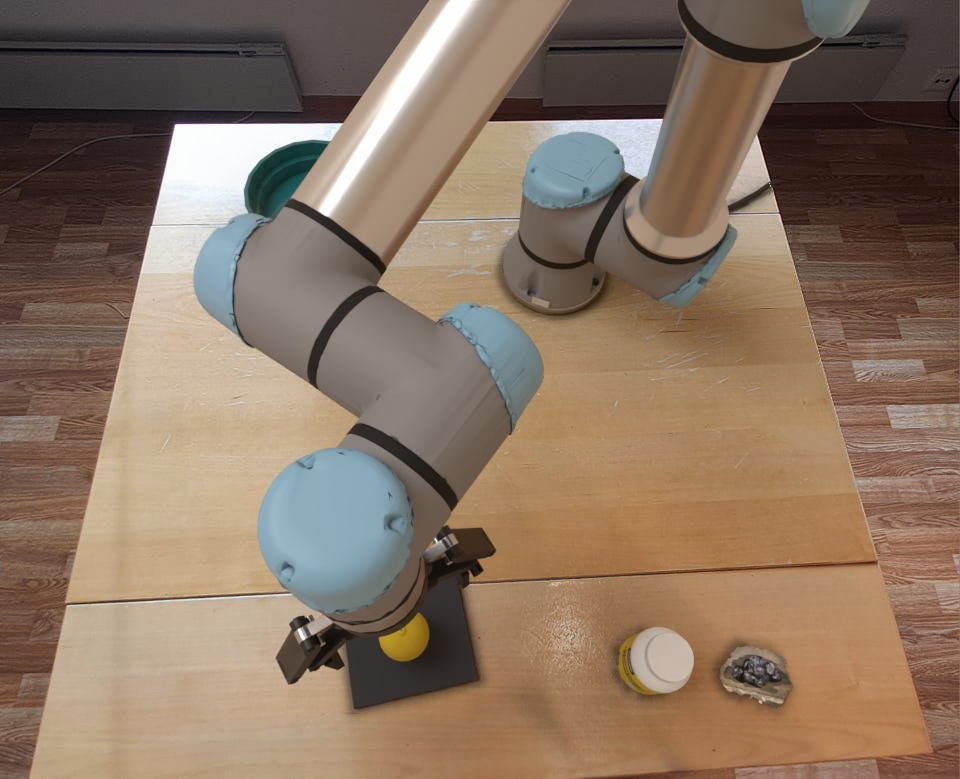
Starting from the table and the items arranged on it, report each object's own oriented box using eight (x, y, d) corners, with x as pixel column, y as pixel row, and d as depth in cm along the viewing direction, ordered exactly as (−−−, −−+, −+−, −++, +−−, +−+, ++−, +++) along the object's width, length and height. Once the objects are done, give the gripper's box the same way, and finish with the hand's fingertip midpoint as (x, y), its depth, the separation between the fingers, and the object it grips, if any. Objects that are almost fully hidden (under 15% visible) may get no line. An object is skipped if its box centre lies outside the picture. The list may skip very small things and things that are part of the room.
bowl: (369, 158, 111) (365, 131, 106) (388, 252, 103) (384, 228, 98) (249, 175, 109) (239, 149, 104) (259, 273, 101) (249, 250, 96)
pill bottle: (610, 637, 80) (633, 625, 70) (665, 632, 80) (695, 619, 70) (620, 697, 77) (645, 694, 67) (676, 692, 78) (709, 688, 67)
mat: (456, 574, 83) (456, 573, 82) (477, 679, 78) (477, 679, 77) (340, 600, 81) (339, 599, 81) (354, 709, 76) (353, 709, 76)
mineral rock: (795, 706, 77) (802, 706, 76) (726, 712, 77) (732, 712, 75) (779, 643, 80) (786, 641, 78) (712, 648, 80) (718, 647, 78)
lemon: (424, 668, 77) (420, 663, 70) (377, 657, 78) (368, 651, 71) (435, 618, 80) (433, 608, 73) (389, 608, 80) (382, 597, 73)
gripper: (493, 438, 51) (486, 513, 70) (173, 629, 45) (261, 653, 64) (552, 523, 48) (527, 576, 67) (219, 738, 42) (297, 729, 61)
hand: (398, 614), depth 66 cm, fingers open, 13 cm apart
